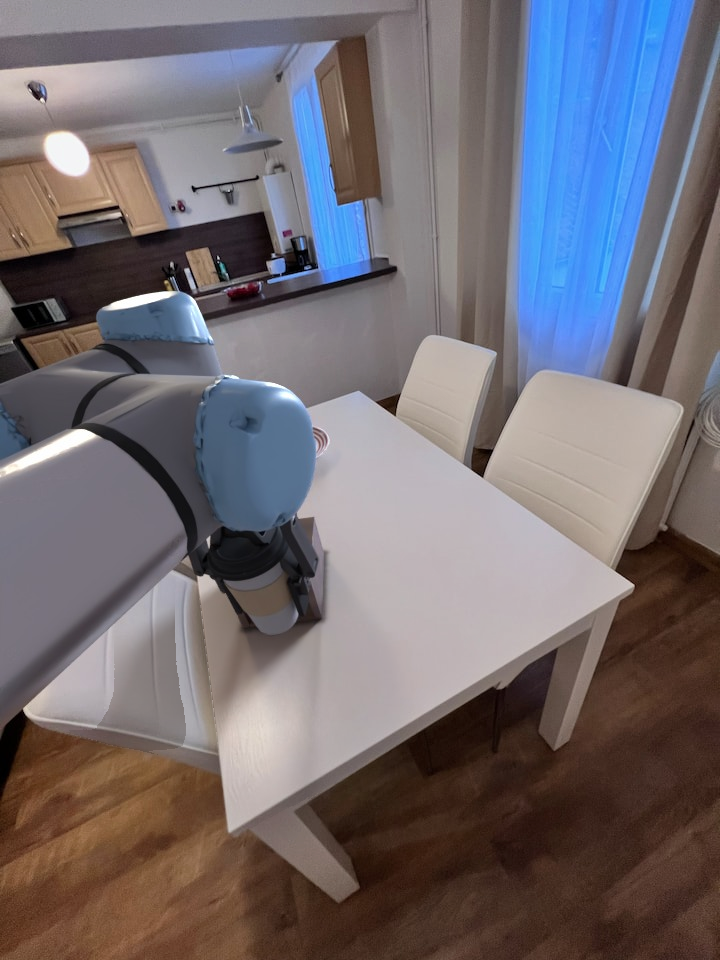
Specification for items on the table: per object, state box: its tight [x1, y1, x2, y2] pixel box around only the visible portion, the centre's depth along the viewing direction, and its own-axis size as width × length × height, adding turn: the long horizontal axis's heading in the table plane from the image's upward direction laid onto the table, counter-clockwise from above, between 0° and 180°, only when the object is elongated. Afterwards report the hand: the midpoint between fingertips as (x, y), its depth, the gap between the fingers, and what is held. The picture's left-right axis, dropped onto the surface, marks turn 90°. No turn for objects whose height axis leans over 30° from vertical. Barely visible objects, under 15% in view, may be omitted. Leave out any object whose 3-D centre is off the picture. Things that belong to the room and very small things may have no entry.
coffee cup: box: [207, 526, 298, 636], centre depth 50 cm, size 9×9×15 cm
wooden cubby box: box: [229, 516, 325, 629], centre depth 84 cm, size 18×16×12 cm
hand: (273, 606), depth 53 cm, fingers closed on coffee cup, 8 cm apart
